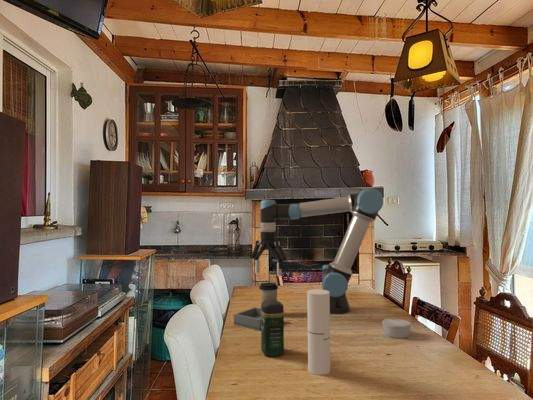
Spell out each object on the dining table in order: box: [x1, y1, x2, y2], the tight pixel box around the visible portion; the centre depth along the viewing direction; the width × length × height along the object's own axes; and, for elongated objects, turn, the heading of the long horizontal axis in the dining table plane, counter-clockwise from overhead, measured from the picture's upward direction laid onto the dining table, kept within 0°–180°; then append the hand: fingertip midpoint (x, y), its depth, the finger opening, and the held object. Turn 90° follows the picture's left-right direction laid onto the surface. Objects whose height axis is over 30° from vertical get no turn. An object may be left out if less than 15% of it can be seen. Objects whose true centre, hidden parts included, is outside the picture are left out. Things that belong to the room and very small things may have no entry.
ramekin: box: [381, 317, 412, 339], centre depth 150 cm, size 11×11×5 cm
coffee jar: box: [260, 299, 285, 357], centre depth 133 cm, size 10×8×19 cm
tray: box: [233, 306, 261, 332], centre depth 167 cm, size 15×15×4 cm
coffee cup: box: [258, 282, 279, 305], centre depth 181 cm, size 9×9×15 cm
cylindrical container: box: [306, 289, 331, 376], centre depth 118 cm, size 7×7×25 cm
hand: (268, 274), depth 181 cm, fingers open, 13 cm apart
